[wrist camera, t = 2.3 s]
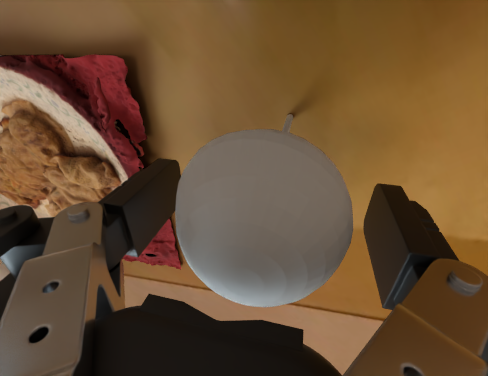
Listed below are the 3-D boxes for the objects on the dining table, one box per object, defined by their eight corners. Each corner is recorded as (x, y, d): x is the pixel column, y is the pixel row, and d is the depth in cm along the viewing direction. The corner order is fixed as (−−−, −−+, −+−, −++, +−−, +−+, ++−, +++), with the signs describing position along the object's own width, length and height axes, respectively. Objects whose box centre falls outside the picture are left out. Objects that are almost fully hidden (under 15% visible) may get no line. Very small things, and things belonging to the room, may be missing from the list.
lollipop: (344, 135, 18) (405, 346, 6) (275, 165, 21) (218, 355, 9) (309, 54, 16) (291, 126, 4) (236, 99, 19) (89, 227, 7)
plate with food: (-94, 53, 24) (-148, 57, 22) (131, 53, 19) (97, 58, 16) (26, 234, 37) (2, 250, 35) (181, 268, 31) (167, 291, 29)
